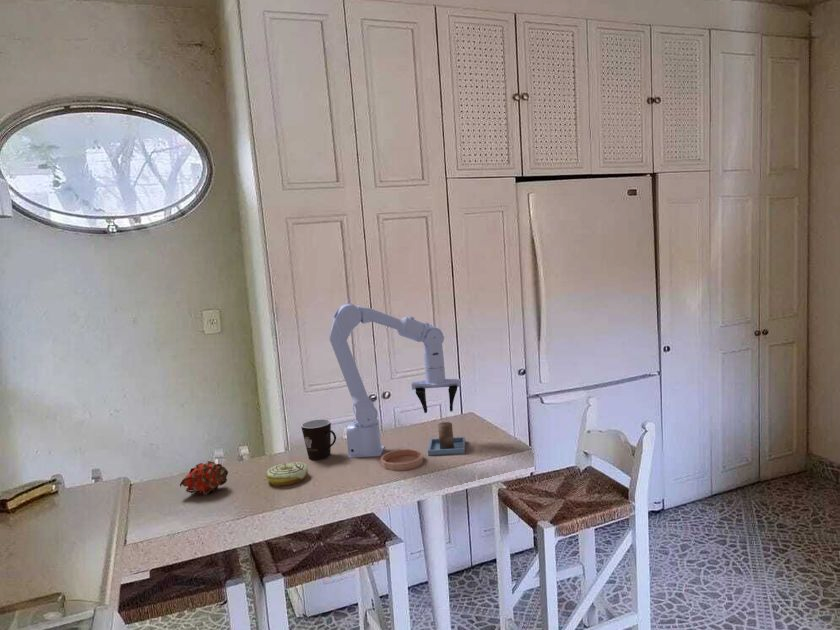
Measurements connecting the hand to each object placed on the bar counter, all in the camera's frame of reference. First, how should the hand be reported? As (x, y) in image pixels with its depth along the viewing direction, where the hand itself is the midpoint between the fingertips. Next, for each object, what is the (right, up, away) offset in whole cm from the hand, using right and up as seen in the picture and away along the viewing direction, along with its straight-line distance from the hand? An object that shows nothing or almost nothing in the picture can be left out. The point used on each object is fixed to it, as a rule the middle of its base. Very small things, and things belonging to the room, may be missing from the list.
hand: (438, 411), depth 172 cm
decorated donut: (-41, -16, -18) cm, 47 cm away
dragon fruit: (-61, -18, -22) cm, 67 cm away
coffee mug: (-34, -13, -4) cm, 37 cm away
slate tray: (+2, -10, -6) cm, 12 cm away
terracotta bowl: (-10, -12, -14) cm, 21 cm away
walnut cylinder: (+2, -9, -7) cm, 12 cm away
